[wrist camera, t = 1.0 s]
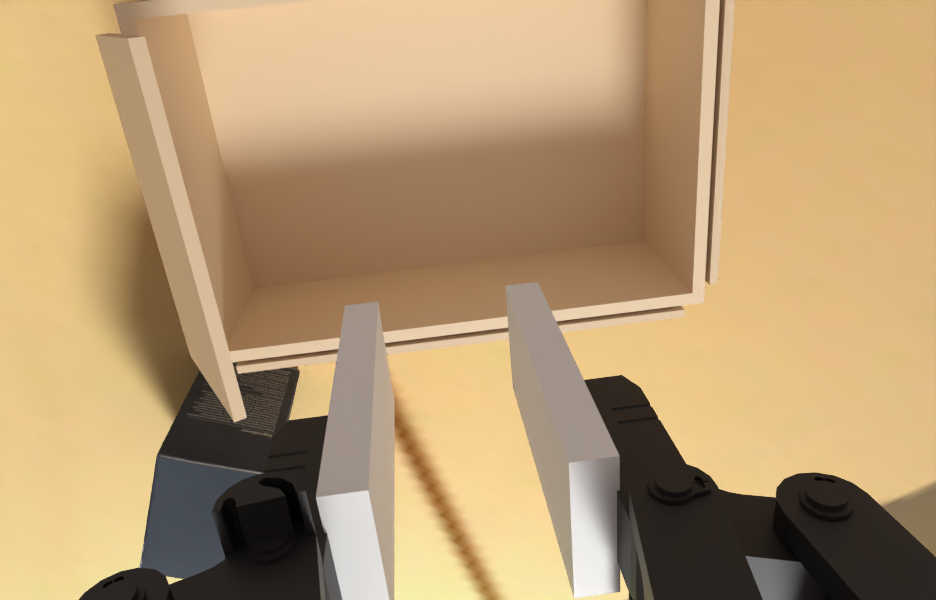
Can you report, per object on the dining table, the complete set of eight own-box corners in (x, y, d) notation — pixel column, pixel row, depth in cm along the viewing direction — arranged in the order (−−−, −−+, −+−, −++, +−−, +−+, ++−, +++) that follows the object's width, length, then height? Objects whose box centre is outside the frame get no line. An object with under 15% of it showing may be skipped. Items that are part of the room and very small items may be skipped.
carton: (250, 301, 42) (217, 376, 34) (172, -16, 35) (107, -13, 27) (657, 251, 43) (716, 312, 35) (663, -65, 36) (739, -77, 28)
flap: (190, 355, 33) (234, 422, 27) (95, 35, 27) (127, 38, 21) (201, 352, 33) (246, 417, 28) (109, 33, 27) (144, 36, 22)
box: (208, 347, 43) (154, 453, 33) (301, 367, 44) (276, 475, 35) (189, 451, 46) (135, 576, 36) (277, 467, 47) (247, 592, 37)
